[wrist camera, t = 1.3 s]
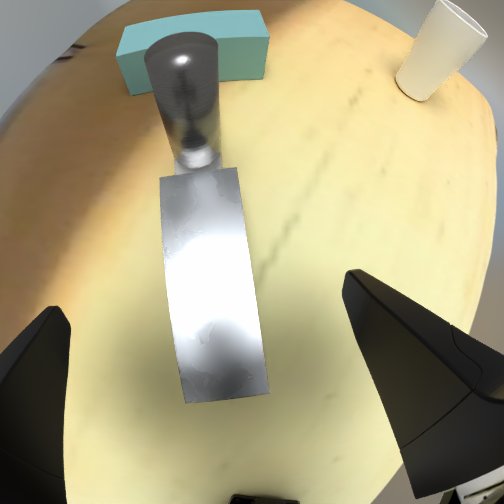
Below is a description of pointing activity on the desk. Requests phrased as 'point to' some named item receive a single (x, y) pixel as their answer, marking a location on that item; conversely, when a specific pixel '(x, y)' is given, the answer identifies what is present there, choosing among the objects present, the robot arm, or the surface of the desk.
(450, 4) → the drinking glass
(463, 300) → the desk surface
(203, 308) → the grey long rectangular block
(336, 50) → the desk surface
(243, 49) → the socket block
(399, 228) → the desk surface
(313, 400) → the desk surface
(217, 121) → the grey piece
